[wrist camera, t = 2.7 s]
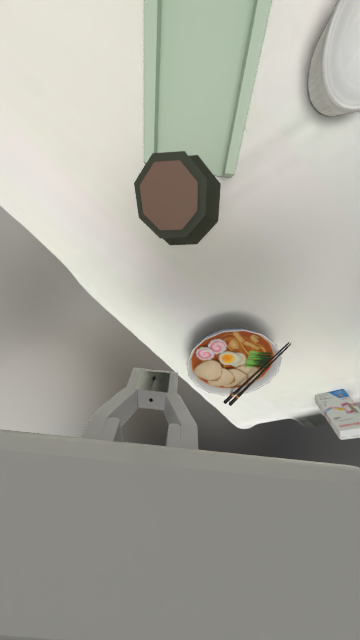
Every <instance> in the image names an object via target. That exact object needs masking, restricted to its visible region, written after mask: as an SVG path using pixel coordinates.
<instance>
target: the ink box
mask: <svg viewBox="0 0 360 640" xmlns="http://www.w3.org/2000/svg"><path fill="white" fill-rule="evenodd" d="M315 399H316V403H317V405H318V406H319V408H320V410H321V411H322V413H323V414H324V416H325V417H326V419H327V420H328V422H329V423H330V425H331V426H332V428H333V429H334V431H335V432H336V434H337V435H338V437H339V438H340V439H351V438H359V437H360V409H359V407H358V406H357V405H356V404H355V403H354V402H353V400H352V399H351V398H350V397H349V396H348V394H347V393H346V392H345V391H344V390H343V389H342V390H337V391H333V392H328V393H323V394H318V395H315Z"/></svg>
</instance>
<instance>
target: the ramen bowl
mask: <svg viewBox="0 0 360 640" xmlns="http://www.w3.org/2000/svg"><path fill="white" fill-rule="evenodd" d="M288 344H289V343H287V344H286V345H285V346H284V347H283V348H282V349H281V350H280V351H279V350H278V348H277V345H276V344H275V343H273V342H272V341H271V340H270V339H268V338H267V337H266V336H265V335H263V334H261V333H258V332H254V331H250V330H246V329H242V328H234V329H222V330H220V331H217V332H215V333H213V334H210V335H208V336H206V337H205V338H204V339H203V340H202V341H201V342H200V343H198V344H197V345H196V346H195V347H194V348H193V350H192V351H191V354H190V356H189V359H188V361H187V369H188V376H189V377H190V378H191V379H192V381H193V382H194V383H195V384H196V385H197V386H198V387H200V388H202V389H204V390H205V391H207V392H210V393H214V394H219V395H230V396H229V397H228V398H227V399H226V400H224V403H225V404H226V403H227V402H228V401H229V400H230V399H231V398H232V397H233V396H234V395H237V396H236V397H235V398H234V399H233V400H232V401H230V402H229V405H230V406H231V405H232V404H233V403H234V402H235V401H236V400H237V399H238V398H239V397H240V396H241V395H242V394H245V393H248V392H252V391H255V390H257V389H259V388H260V387H262V386H264V385H265V384H267V383H269V382H270V381H271V379H272V378H273V377H274V376H275V375H276V373H277V372H278V371H279V367H280V362H281V354H282V353H283V352H284V351H285V350H286V349H287V348H288V347H289V346H290V345H291V343H290V344H289V345H288ZM287 345H288V346H287ZM286 346H287V347H286ZM285 347H286V348H285ZM284 348H285V349H284ZM283 349H284V350H283ZM282 350H283V351H282ZM281 351H282V352H281ZM279 352H281V353H279Z"/></svg>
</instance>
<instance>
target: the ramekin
mask: <svg viewBox="0 0 360 640" xmlns="http://www.w3.org/2000/svg"><path fill="white" fill-rule="evenodd" d="M308 90H309V96H310V99H311V102H312V103H313V106H314V107H315V108H316V110H318V111H319V112H320V113H322V114H324V115H327V116H334V115H335V116H337V115H341V114H345V113H353V112H358V111H360V0H338V2H337V4H336V6H335V8H334V10H333V12H332V14H331V17H330V19H329V22H328V23H327V25H326V27H325V29H324V31H323V33H322V35H321V37H320V39H319V41H318V43H317V45H316V49H315V51H314V53H313V57H312V60H311V65H310V69H309V77H308Z"/></svg>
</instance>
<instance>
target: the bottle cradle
mask: <svg viewBox="0 0 360 640" xmlns="http://www.w3.org/2000/svg"><path fill="white" fill-rule="evenodd" d="M271 3H272V0H144V163H145V164H146V163H147V161H148V160H149V158H150V156H151V155H152V153H163V152H178V151H185V152H186V153H187V155H188V156H190V155H198V156H199V157H200V158H201V160H202V161H203V162H204V163H205V165H206V166H207V167H208V169H209V170H210V171H211V172H212V174H213V175H214V176H220V177H228V178H231V177H232V176H233V175H234V174H235V170H236V165H237V160H238V156H239V151H240V147H241V142H242V137H243V133H244V128H245V123H246V119H247V114H248V109H249V105H250V100H251V95H252V91H253V86H254V82H255V77H256V72H257V68H258V63H259V58H260V54H261V49H262V44H263V40H264V35H265V30H266V26H267V21H268V17H269V12H270V7H271Z"/></svg>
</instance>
